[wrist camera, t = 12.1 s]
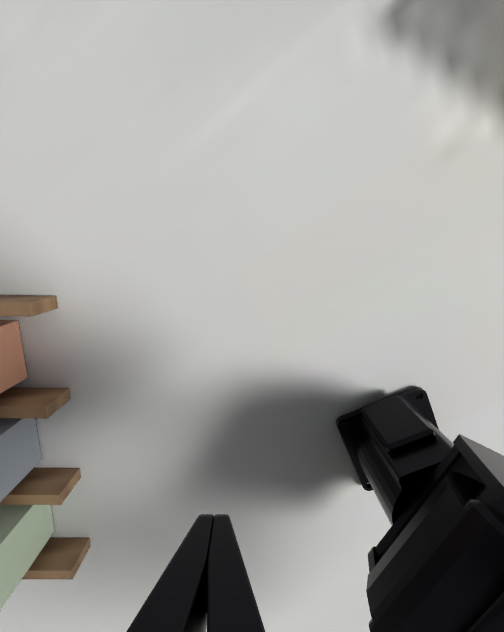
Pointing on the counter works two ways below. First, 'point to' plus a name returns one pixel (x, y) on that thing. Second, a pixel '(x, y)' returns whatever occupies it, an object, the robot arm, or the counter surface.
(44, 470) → the wooden slotted rack
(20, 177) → the counter surface
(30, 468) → the grey tall block
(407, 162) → the counter surface
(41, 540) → the sage key
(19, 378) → the pink rectangular block
